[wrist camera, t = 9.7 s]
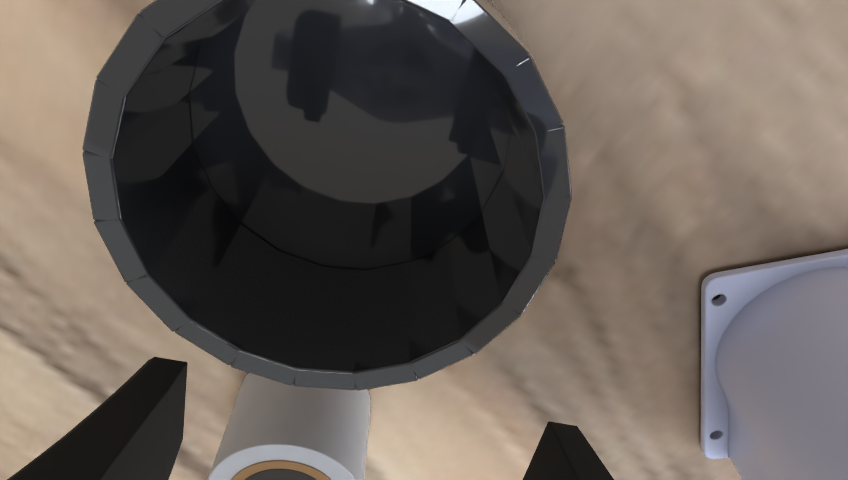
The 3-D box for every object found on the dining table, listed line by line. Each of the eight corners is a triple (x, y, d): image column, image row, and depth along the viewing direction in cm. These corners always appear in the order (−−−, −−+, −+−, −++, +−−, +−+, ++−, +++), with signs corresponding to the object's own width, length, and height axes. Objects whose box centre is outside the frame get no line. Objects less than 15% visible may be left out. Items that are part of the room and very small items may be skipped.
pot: (548, 245, 22) (589, 352, 17) (245, 301, 23) (196, 419, 18) (501, -112, 17) (539, -116, 12) (110, -18, 18) (-16, 17, 13)
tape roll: (384, 437, 27) (378, 540, 23) (264, 457, 27) (236, 561, 23) (351, 340, 24) (337, 435, 20) (220, 363, 25) (179, 461, 21)
